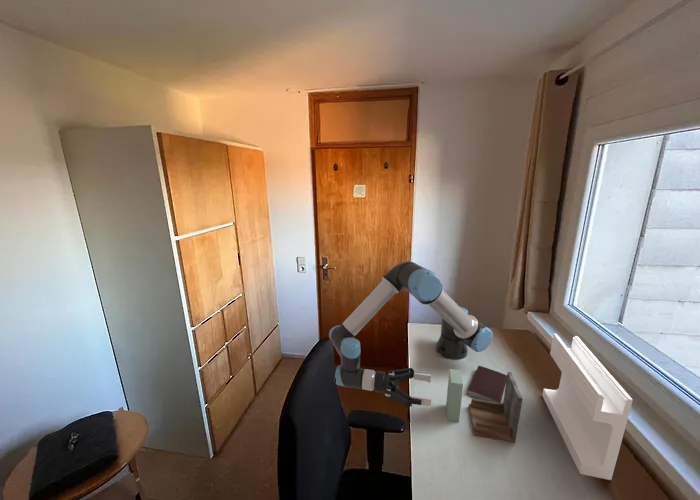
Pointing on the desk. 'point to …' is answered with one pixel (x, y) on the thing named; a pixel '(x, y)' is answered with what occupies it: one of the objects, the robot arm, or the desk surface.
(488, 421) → the slot board
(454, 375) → the grey-green tall block
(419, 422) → the desk surface
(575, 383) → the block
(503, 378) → the book
